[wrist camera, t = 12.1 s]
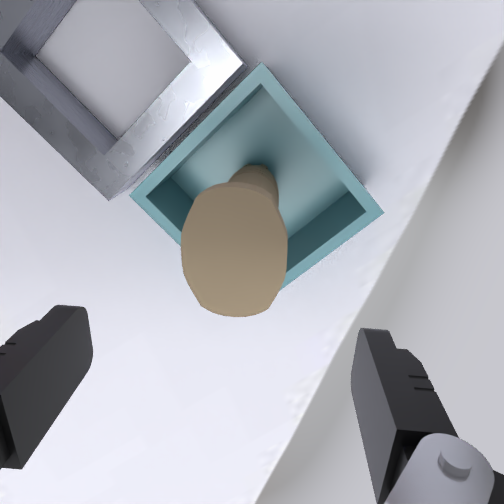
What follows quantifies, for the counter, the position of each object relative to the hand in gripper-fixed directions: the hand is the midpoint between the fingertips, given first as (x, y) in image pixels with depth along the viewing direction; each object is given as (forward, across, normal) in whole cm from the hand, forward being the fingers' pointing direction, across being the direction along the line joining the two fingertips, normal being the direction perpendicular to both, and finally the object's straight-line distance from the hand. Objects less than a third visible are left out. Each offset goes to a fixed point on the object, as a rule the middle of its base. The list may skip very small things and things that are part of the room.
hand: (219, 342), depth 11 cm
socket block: (+23, +11, -8) cm, 26 cm away
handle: (+22, 0, 0) cm, 22 cm away
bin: (+22, 0, 0) cm, 23 cm away
